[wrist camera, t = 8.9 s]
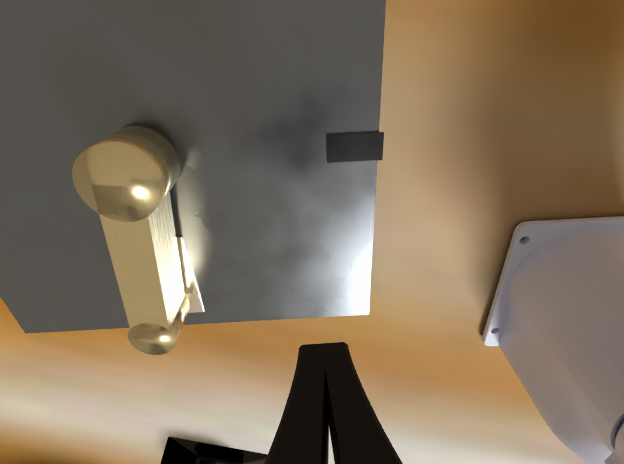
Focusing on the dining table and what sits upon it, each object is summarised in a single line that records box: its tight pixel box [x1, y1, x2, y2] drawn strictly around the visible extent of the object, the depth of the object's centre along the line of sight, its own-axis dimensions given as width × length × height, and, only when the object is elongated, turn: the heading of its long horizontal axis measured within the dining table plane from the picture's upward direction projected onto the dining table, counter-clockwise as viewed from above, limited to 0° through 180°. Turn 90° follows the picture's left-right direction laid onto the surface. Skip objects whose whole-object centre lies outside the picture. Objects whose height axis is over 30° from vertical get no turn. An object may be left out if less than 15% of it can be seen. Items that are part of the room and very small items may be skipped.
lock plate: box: [0, 0, 386, 333], centre depth 16 cm, size 20×20×2 cm
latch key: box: [72, 126, 190, 355], centre depth 16 cm, size 11×3×2 cm, turn 176°
